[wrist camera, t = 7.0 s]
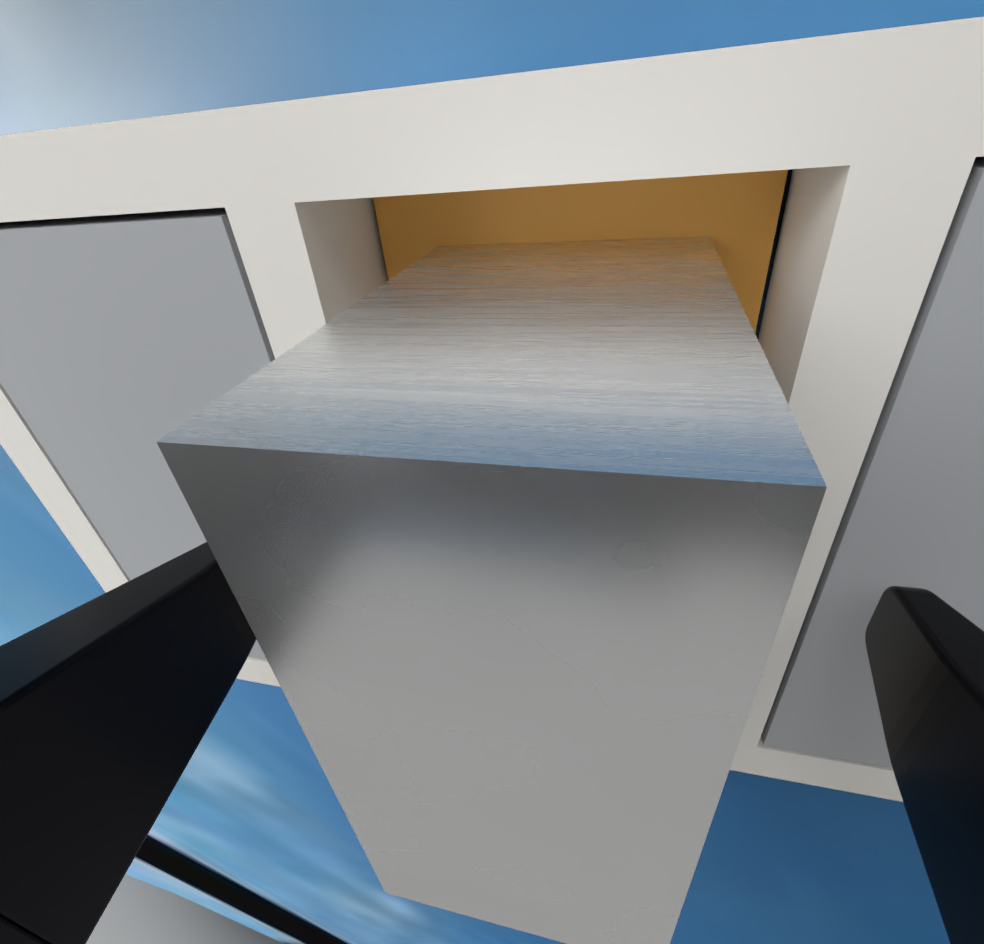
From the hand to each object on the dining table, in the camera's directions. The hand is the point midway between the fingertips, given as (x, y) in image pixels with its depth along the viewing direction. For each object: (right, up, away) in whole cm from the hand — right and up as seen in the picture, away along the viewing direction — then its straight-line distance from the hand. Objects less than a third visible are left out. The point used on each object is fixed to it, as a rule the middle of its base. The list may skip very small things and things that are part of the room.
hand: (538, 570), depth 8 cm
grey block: (+1, +2, +2) cm, 3 cm away
